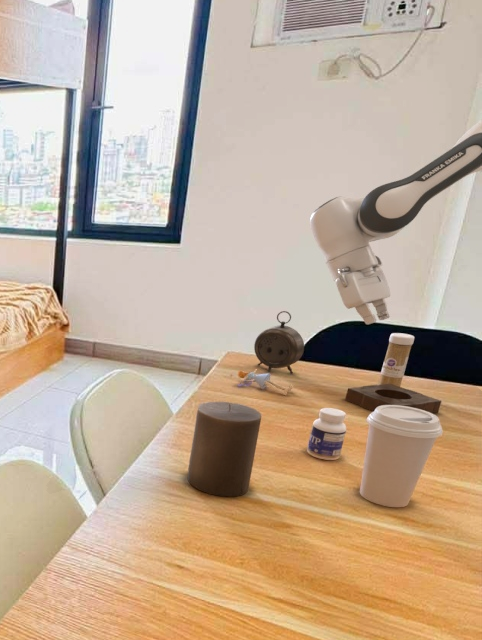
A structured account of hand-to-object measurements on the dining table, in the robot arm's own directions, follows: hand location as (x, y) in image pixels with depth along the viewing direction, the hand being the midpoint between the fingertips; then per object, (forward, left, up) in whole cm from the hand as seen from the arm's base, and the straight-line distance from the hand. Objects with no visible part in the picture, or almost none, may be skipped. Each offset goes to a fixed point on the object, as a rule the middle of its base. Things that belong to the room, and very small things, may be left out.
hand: (378, 321), depth 143 cm
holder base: (0, +8, -18) cm, 20 cm away
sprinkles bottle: (-11, -2, -18) cm, 21 cm away
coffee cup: (+39, +41, -18) cm, 59 cm away
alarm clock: (+5, -21, -18) cm, 28 cm away
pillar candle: (+62, +30, -18) cm, 71 cm away
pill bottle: (+35, +25, -18) cm, 47 cm away
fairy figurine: (+18, -10, -18) cm, 28 cm away
